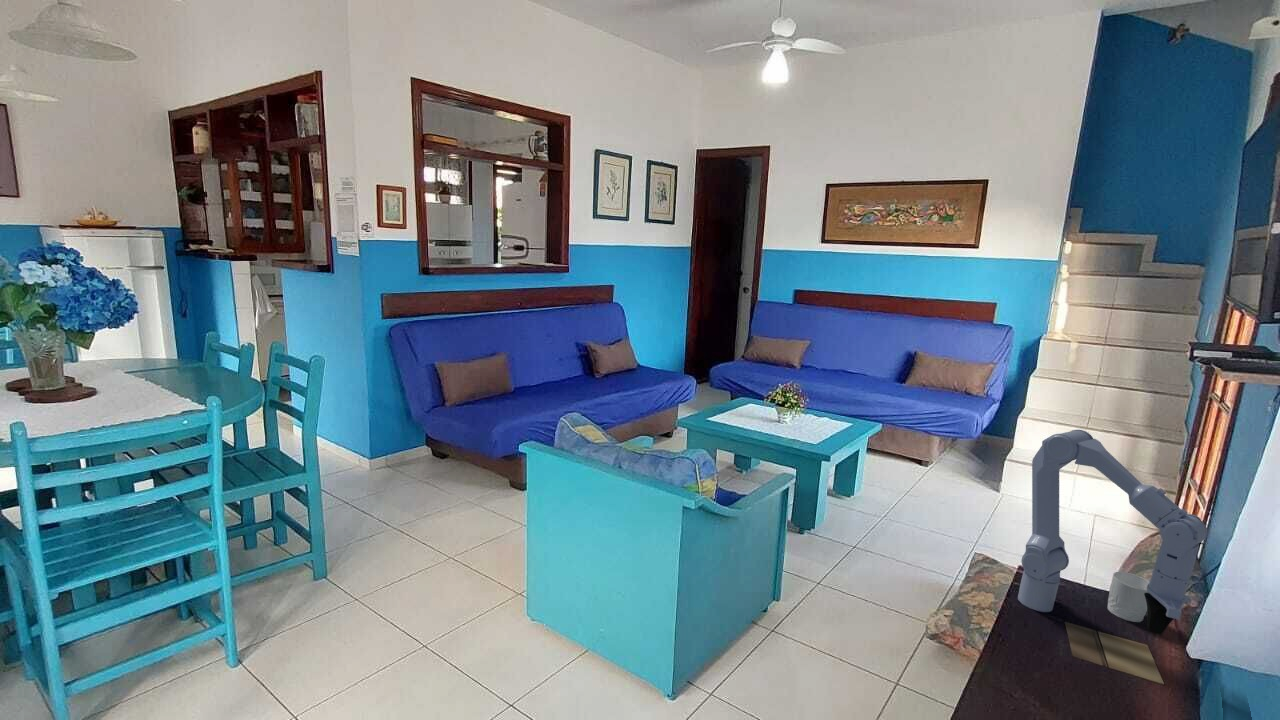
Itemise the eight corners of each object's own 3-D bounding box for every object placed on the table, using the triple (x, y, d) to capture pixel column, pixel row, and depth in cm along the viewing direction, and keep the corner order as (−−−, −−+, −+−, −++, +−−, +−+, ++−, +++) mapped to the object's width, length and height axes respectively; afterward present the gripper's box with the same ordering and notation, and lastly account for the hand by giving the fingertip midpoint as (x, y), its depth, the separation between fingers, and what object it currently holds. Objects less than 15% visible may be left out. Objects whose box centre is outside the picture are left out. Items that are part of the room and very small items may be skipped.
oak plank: (1096, 637, 143) (1097, 631, 143) (1145, 651, 140) (1147, 645, 139) (1107, 674, 131) (1109, 667, 131) (1162, 690, 127) (1164, 683, 127)
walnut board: (1063, 627, 146) (1064, 621, 146) (1094, 636, 144) (1096, 630, 143) (1071, 662, 134) (1072, 655, 134) (1105, 673, 131) (1107, 666, 131)
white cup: (1099, 616, 152) (1109, 578, 150) (1107, 604, 157) (1117, 568, 155) (1140, 633, 146) (1151, 594, 144) (1147, 621, 152) (1158, 583, 149)
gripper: (1208, 596, 122) (1188, 658, 125) (1186, 563, 134) (1169, 620, 137) (1162, 584, 125) (1144, 645, 128) (1145, 552, 137) (1129, 608, 140)
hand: (1154, 631), depth 133 cm, fingers closed
